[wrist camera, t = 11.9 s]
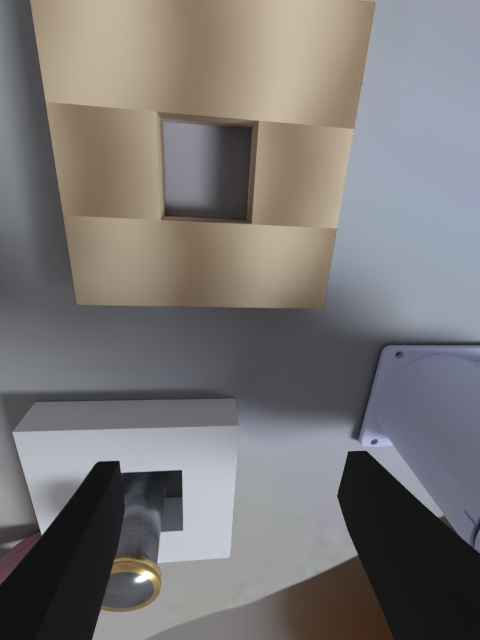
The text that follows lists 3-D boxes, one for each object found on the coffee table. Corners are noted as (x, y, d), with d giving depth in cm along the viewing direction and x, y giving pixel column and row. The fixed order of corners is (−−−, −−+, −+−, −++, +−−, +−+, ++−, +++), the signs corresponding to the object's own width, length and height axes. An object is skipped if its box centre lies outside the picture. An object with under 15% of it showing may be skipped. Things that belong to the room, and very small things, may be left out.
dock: (235, 398, 20) (239, 425, 18) (227, 523, 25) (229, 557, 23) (35, 402, 19) (12, 431, 17) (66, 533, 24) (52, 571, 21)
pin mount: (351, 27, 13) (375, 2, 12) (311, 296, 18) (323, 308, 16) (50, -12, 12) (22, -47, 10) (90, 291, 17) (76, 304, 15)
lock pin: (171, 452, 21) (158, 564, 15) (172, 489, 23) (161, 607, 16) (116, 454, 21) (79, 571, 15) (120, 492, 22) (89, 615, 16)
